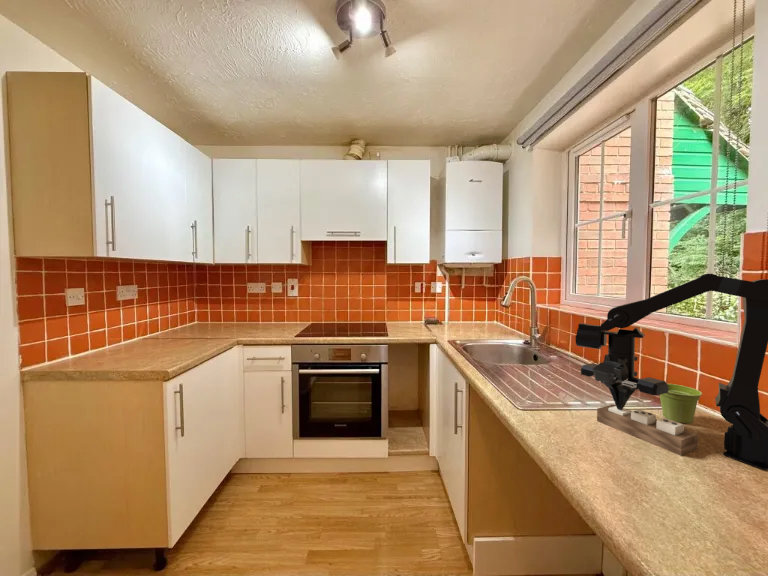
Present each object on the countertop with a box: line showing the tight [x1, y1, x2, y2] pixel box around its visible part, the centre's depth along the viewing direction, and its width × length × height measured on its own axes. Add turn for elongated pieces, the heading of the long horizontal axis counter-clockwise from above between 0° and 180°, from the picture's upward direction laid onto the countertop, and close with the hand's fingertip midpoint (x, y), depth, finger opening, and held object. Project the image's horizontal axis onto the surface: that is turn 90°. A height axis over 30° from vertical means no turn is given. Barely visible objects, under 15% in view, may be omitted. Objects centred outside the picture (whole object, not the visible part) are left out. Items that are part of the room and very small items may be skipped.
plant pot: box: [659, 383, 703, 425], centre depth 87 cm, size 9×9×9 cm
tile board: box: [596, 404, 699, 457], centre depth 79 cm, size 18×7×4 cm, turn 23°
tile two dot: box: [656, 417, 685, 436], centre depth 74 cm, size 4×4×3 cm
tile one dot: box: [608, 406, 632, 416], centre depth 84 cm, size 4×4×3 cm
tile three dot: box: [630, 408, 657, 425], centre depth 79 cm, size 4×4×3 cm
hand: (619, 408), depth 84 cm, fingers closed, pressing on tile one dot
